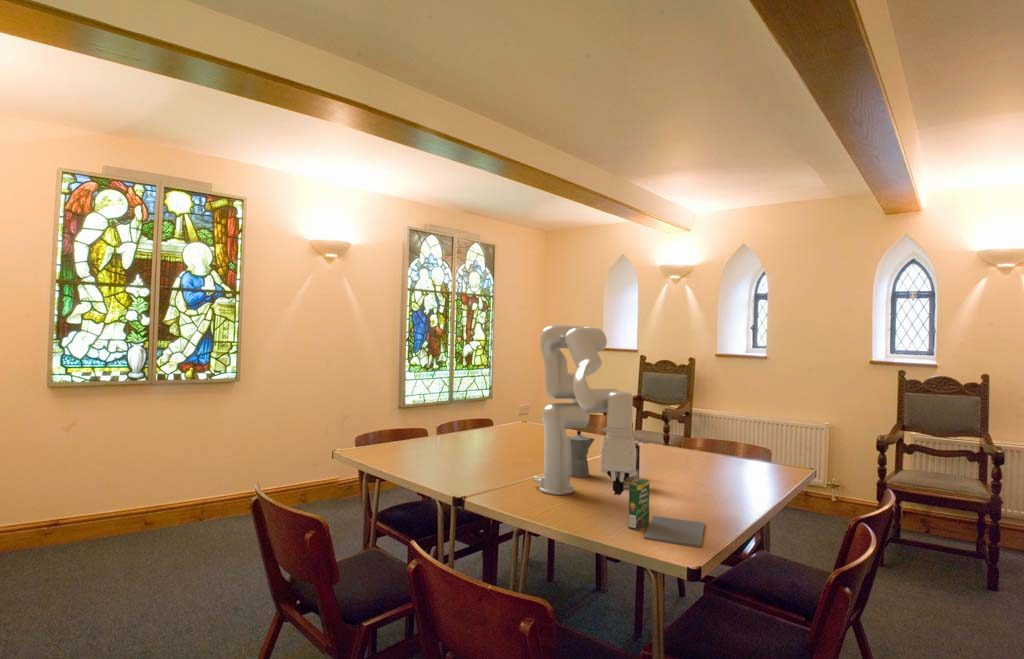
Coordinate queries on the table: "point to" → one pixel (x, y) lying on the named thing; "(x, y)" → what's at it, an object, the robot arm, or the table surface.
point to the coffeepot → (579, 455)
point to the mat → (675, 531)
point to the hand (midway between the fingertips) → (618, 493)
